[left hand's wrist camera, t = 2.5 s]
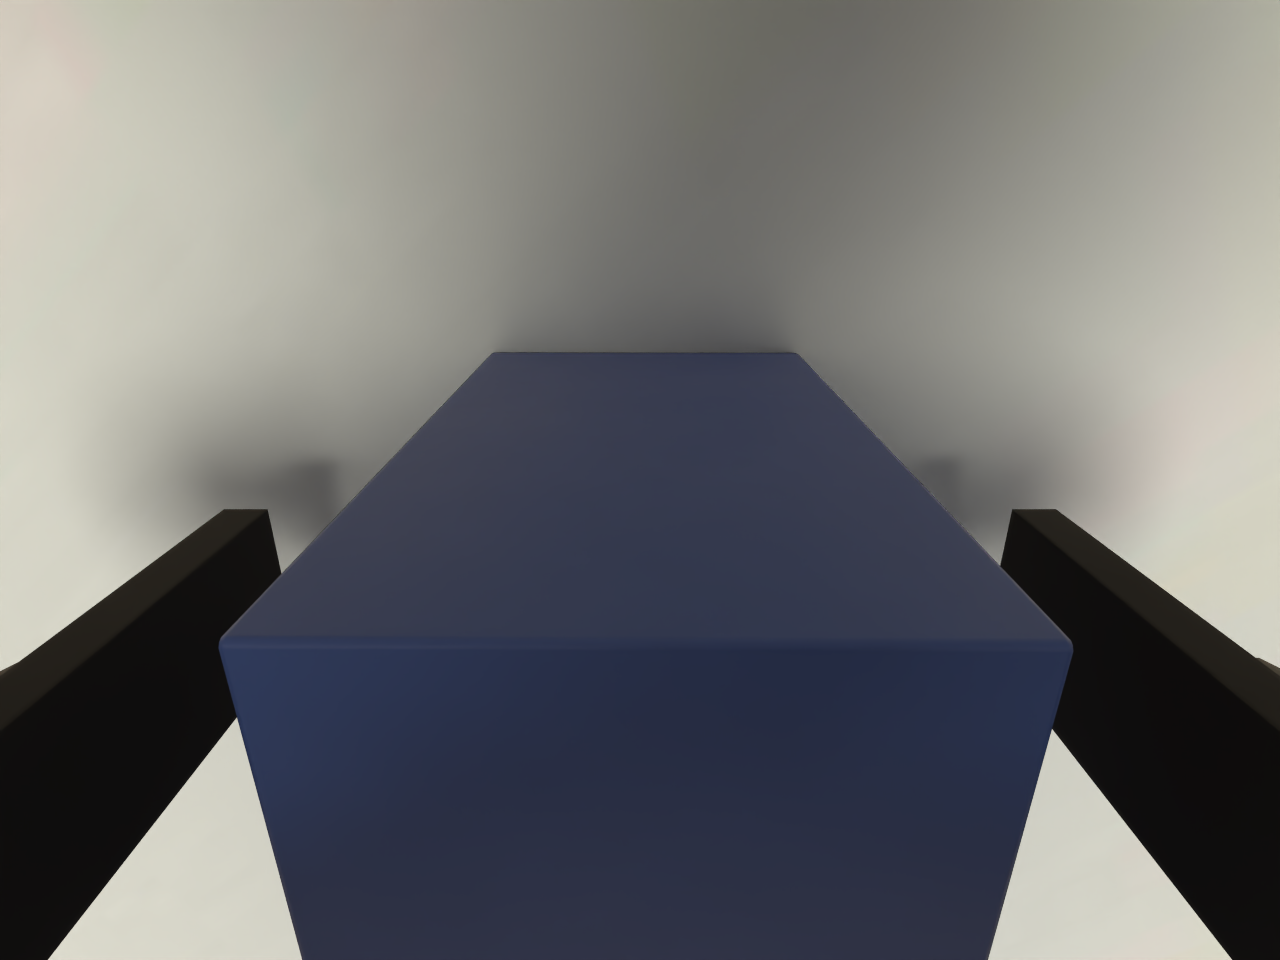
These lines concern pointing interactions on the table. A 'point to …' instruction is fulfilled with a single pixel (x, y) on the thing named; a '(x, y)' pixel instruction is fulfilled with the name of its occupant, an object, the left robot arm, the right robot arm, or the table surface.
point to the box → (645, 683)
